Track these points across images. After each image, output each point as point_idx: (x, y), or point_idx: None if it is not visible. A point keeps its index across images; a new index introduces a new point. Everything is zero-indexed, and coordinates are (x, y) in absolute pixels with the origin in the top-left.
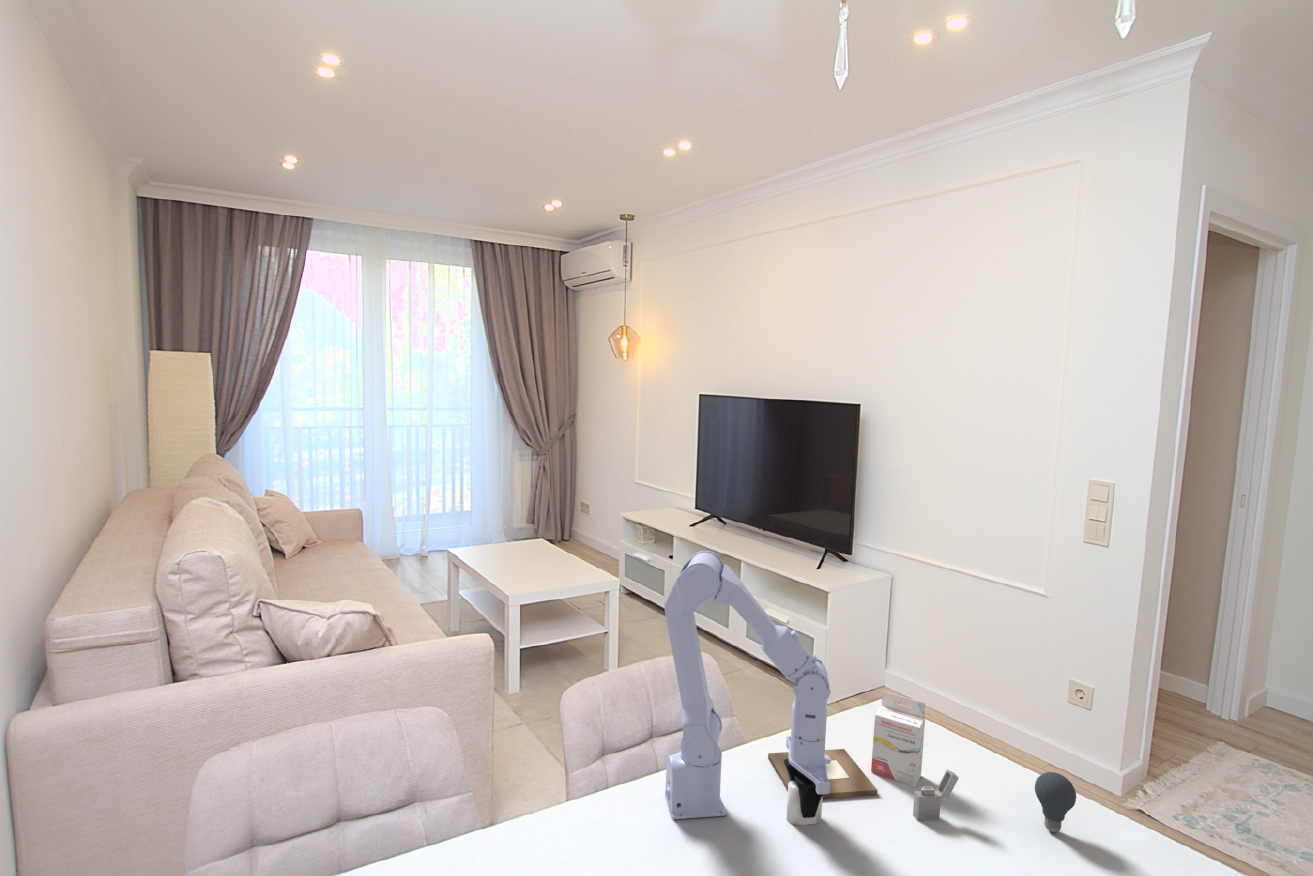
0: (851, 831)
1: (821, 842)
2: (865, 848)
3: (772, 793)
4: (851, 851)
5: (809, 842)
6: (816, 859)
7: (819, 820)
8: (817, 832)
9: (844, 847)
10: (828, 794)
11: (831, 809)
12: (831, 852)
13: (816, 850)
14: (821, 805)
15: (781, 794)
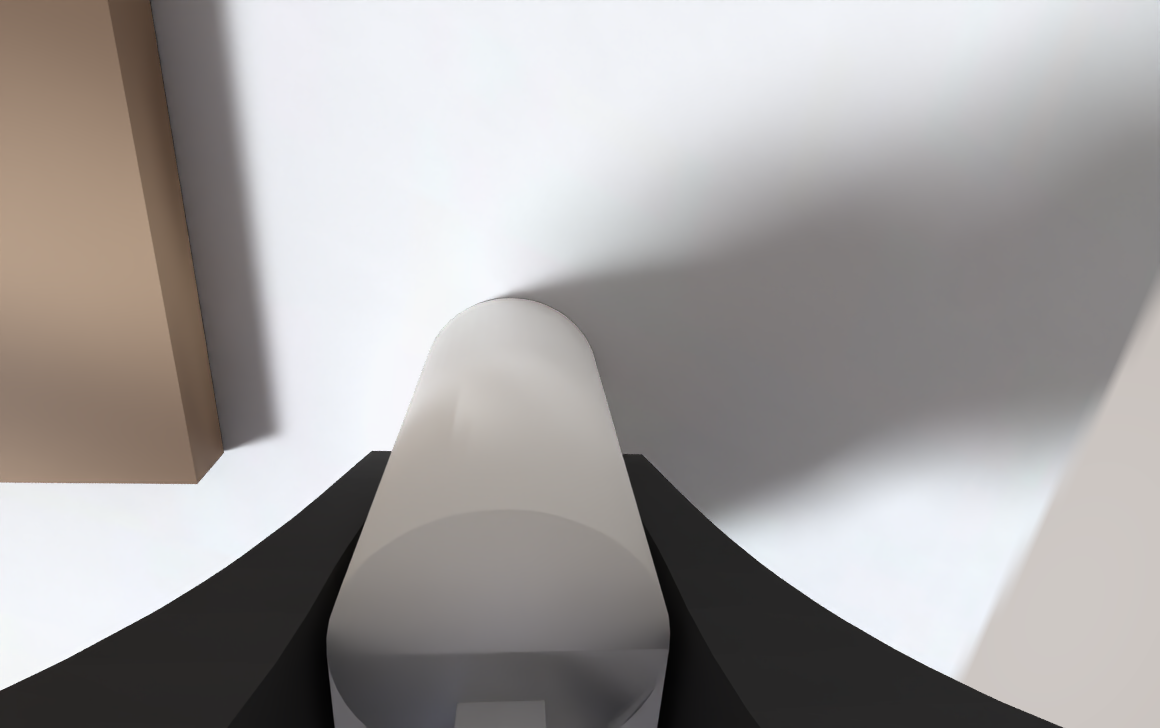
0: (786, 68)
1: (829, 430)
2: (1051, 60)
3: (98, 586)
4: (1022, 228)
5: (798, 516)
6: (973, 534)
7: (590, 351)
8: (706, 412)
9: (954, 266)
10: (120, 26)
11: (381, 103)
12: (959, 402)
13: (894, 500)
14: (592, 396)
15: (108, 518)
